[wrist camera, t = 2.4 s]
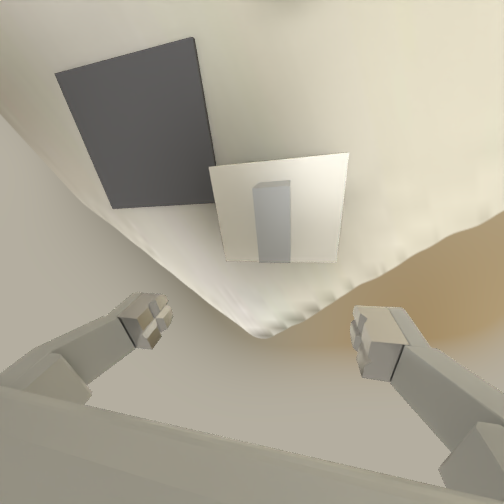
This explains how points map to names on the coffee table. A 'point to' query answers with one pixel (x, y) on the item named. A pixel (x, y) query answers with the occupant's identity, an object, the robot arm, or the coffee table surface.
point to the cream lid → (281, 208)
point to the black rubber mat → (145, 125)
